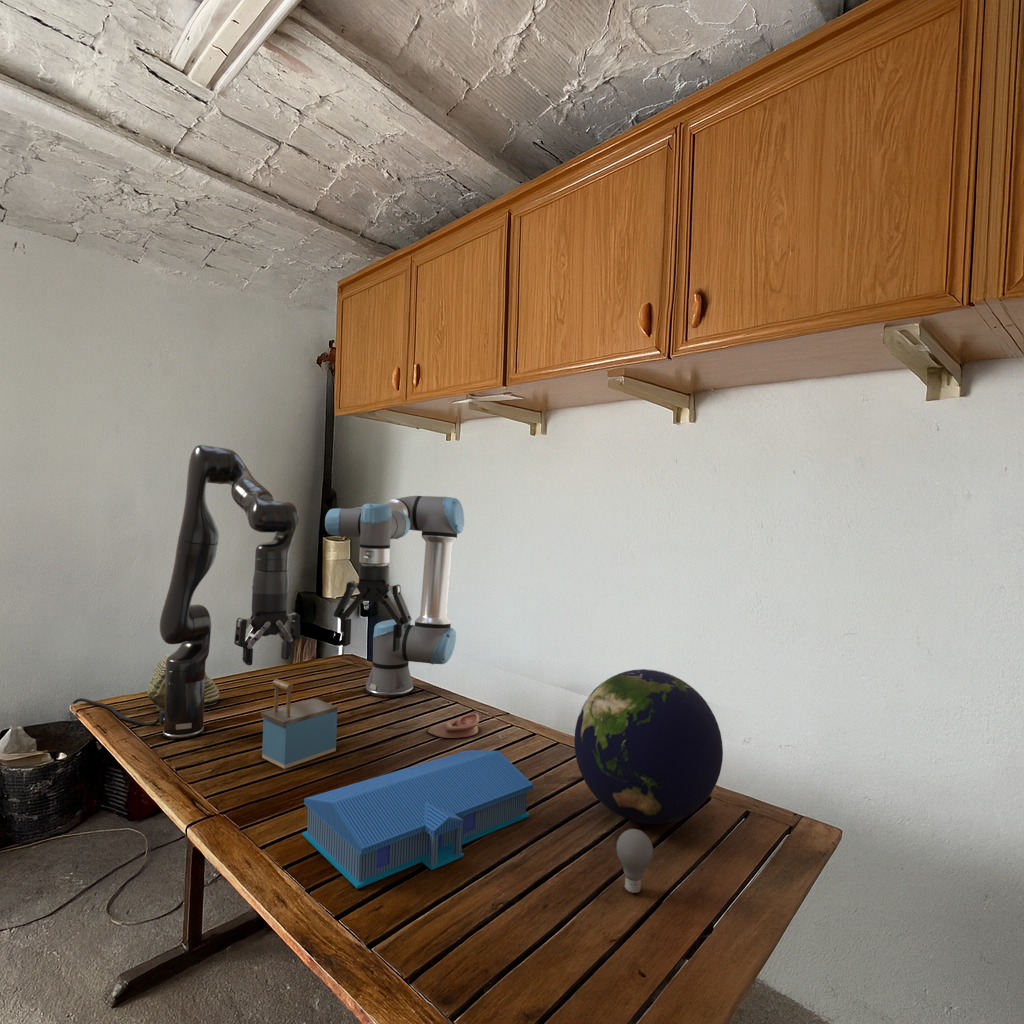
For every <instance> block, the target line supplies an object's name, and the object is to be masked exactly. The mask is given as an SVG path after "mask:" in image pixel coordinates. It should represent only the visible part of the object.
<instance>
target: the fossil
mask: <svg viewBox="0 0 1024 1024" xmlns="http://www.w3.org/2000/svg"><path fill="white" fill-rule="evenodd" d="M170 655H171V654H165V655H164V656H163V657H162V658H161V659H160V660H159V662H158V663H157V666H156V667H155V669H154V670H153V672H152V675H151V677H150V680H149V684H148V688H147V697H148V699H149V700H150V701H152V703H153V704H154V706H155V711H158V712H159V711H162V710H164V705H165V674H166V660H167V658H168V657H169V656H170ZM220 698H221V696H220V690H219V688H218V686H217V685H216V683H215V682H214V681H213V679H212V678H211V677H209V675H208V674H207V672H206V671H205V693H204V707H207V706H213V705H215V704H217V703H218V701H219V699H220Z"/></svg>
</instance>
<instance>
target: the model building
mask: <svg viewBox="0 0 1024 1024" xmlns="http://www.w3.org/2000/svg"><path fill="white" fill-rule="evenodd" d="M532 790H534V783H532V782H531V781H530V780H529V779H528V778H527V776H525V775H524V774H523V773H522V772H521V771H520V770H519V769H518V768H517V767H516V766H515V765H514V764H513V763H512V762H511V761H510V760H509V758H507V757H506V756H505V755H504V754H503V753H502V752H501V751H500V750H484V749H483V750H481V749H479V750H477V749H474V750H473V749H470V750H469V749H467V750H463V751H460V752H456V753H452V754H450V755H446V756H443V757H439V758H436V759H433V760H429V761H427V762H423V763H420V764H416V765H413V766H410V767H406V768H402V769H399V770H396V771H392V772H389V773H386V774H382V775H379V776H376V777H372V778H369V779H365V780H362V781H359V782H355V783H352V784H348V785H346V786H342V787H338V788H336V789H332V790H328V791H325V792H321V793H318V794H315V795H312V796H308V797H304V798H303V805H304V806H305V807H307V830H305V831H302V836H303V837H304V838H305V839H306V840H307V841H308V842H309V843H310V844H311V845H312V846H313V847H314V848H315V849H316V850H317V851H318V852H319V853H320V854H321V855H322V856H323V857H324V858H325V859H326V860H327V861H328V862H329V863H330V864H331V865H332V866H333V867H334V868H335V869H336V870H337V871H338V872H339V873H340V874H341V875H343V877H345V879H346V880H347V881H348V882H350V883H351V885H352V886H354V887H355V888H356V890H359V889H361V888H364V887H365V886H368V885H371V884H373V883H376V882H378V881H380V880H381V879H385V878H387V877H390V876H391V875H394V874H396V873H400V872H401V871H403V870H406V869H408V868H411V867H413V866H415V865H418V864H420V863H422V865H424V866H426V867H427V868H428V869H429V870H431V871H434V870H436V869H438V868H440V867H443V866H445V865H447V864H450V863H452V862H455V861H456V860H459V859H461V858H463V857H465V853H464V852H463V845H465V844H468V843H471V842H472V841H475V840H477V839H480V838H481V837H484V836H486V835H489V834H492V833H493V832H496V831H498V830H501V829H503V828H505V827H508V826H510V825H513V824H515V823H517V822H520V821H522V820H525V819H527V818H529V817H530V816H531V814H530V813H529V812H528V811H527V801H528V798H527V797H528V792H530V791H532Z"/></svg>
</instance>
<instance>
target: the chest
mask: <svg viewBox="0 0 1024 1024" xmlns="http://www.w3.org/2000/svg"><path fill="white" fill-rule="evenodd" d="M262 719H263V721H262V722H263V723H262V746H261V747H262V748H261V749H262V750H261V751H262V752H261V753H262V754H261V758H262V759H264V760H265V761H268V762H270V763H272V764H273V765H276V766H277V767H279V768H282V769H283V770H286V769H289V768H293V767H294V766H296V765H300V764H303V763H306V762H309V761H311V760H314V759H316V758H320V757H323V756H325V755H329V754H331V753H334V752H337V733H338V732H337V729H338V710H337V711H334V712H331V713H328V714H324V715H321V716H317V717H314V718H310V719H307V720H303V721H300V722H297V723H293V724H290V725H286V726H281V725H279V724H277V723H274V722H272V721H270V720H268V719H265V718H263V717H262Z"/></svg>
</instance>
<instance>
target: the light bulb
mask: <svg viewBox="0 0 1024 1024" xmlns="http://www.w3.org/2000/svg"><path fill="white" fill-rule="evenodd" d="M615 849H616V854H617V857H618V859H619V861H620V863H621V865H622V867H623V873H624V874H623V875H624V876H625V878H624V888H625V890H627V891H628V892H630V893H634V894H635V893H639V892H640V891H641V889H642V887H641V886H642V879H643V877H644V875H645V871H646V868H647V867H648V866H649V864H650V863H651V861H652V859H653V855H654V847H653V843H652V841H651V838H649V836H648V835H647V834H646V833H645V832H643V831H642V830H641V829H636V828H629V829H627V830H625V831H623V832H622V833H621V834H620V835H619V837H618V839H617V841H616V847H615Z"/></svg>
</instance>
